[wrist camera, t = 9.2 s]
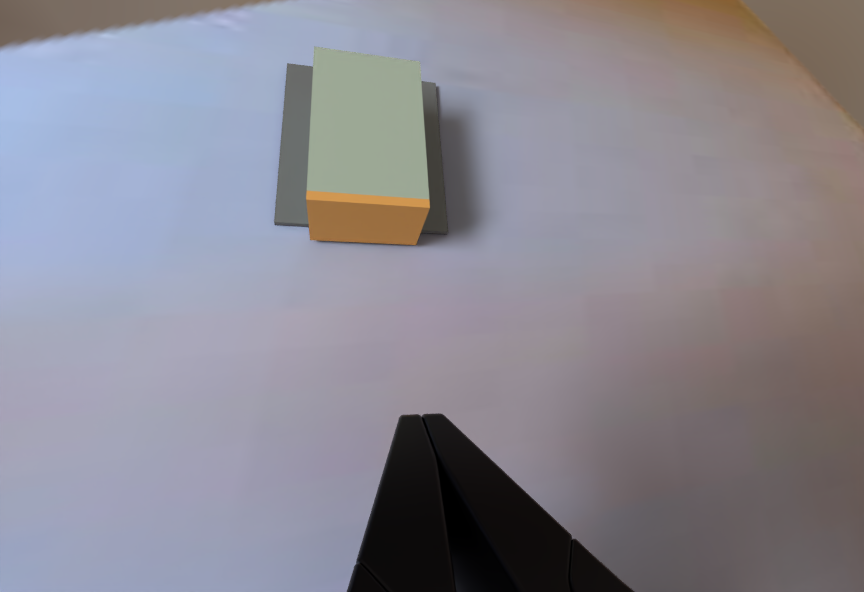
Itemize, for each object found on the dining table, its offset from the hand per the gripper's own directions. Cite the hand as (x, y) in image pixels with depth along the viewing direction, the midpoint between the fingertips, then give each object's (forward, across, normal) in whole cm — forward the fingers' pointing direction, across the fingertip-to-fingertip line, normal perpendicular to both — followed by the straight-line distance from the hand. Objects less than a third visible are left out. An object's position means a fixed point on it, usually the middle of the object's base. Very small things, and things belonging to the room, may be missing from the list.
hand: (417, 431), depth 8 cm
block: (+16, 0, 0) cm, 16 cm away
